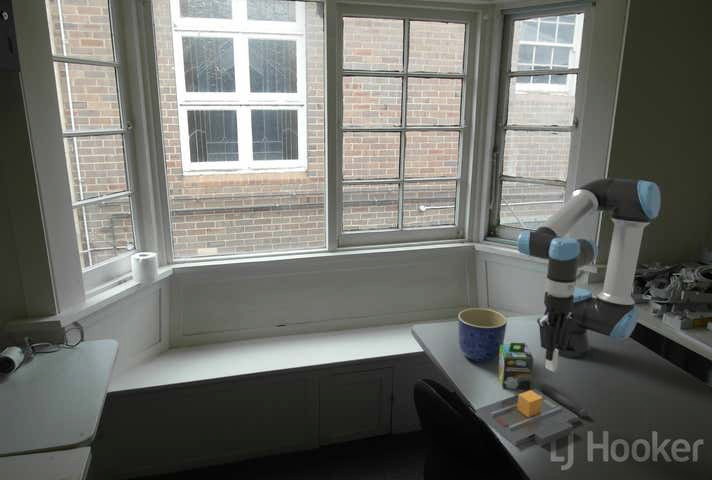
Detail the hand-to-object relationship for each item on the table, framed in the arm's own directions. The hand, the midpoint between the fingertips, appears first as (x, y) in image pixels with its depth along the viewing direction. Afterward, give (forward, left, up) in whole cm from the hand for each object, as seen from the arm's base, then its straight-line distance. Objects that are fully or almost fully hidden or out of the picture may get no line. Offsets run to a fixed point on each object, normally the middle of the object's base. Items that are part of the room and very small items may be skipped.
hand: (550, 369), depth 140 cm
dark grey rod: (0, +7, -14) cm, 15 cm away
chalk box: (-16, +3, -14) cm, 21 cm away
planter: (-35, +5, -14) cm, 38 cm away
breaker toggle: (0, -7, -12) cm, 14 cm away
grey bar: (+10, -8, -14) cm, 19 cm away
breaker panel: (0, -8, -14) cm, 16 cm away
